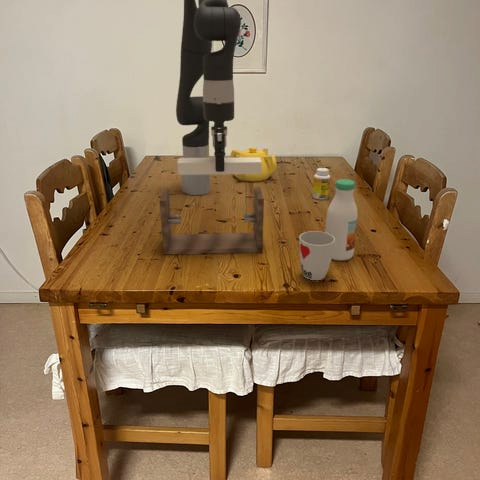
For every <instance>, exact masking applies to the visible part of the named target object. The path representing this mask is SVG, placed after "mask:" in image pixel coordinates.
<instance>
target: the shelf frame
mask: <svg viewBox="0 0 480 480" xmlns="http://www.w3.org/2000/svg"><path fill="white" fill-rule="evenodd" d="M253 190H254V191H253V212H252V213H251V212H250V213H249V212H248V213H243V218H244V223H253V232H223V233H222V232H219V233H218V232H217V233H216V232H215V233H180V234H179V233H178V234H175V233H174V234H172V232H173V231H172V225H180V224H181V220H182V215H181V214H171V205H170V204H171V201H170V200H171V199H170V188H169V187H167V188H165V187H163V188H162V191H161V194H160V198H159V210H160V213H159V214H160V224H161V238H162V251H163V252H162V253H163V255H164V254H189V255H203V254H202V253H219V255H220V253H228V254H255V253H256V254H259V253H258V252H263V251H264V250H263V249H264V212H265V210H264V205H265V198H264V195H263V192H262V189H261V187H260V186H254V189H253ZM263 253H264V252H263Z"/></svg>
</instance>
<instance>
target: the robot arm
mask: <svg viewBox="0 0 480 480" xmlns="http://www.w3.org/2000/svg"><path fill="white" fill-rule="evenodd" d="M197 1H198V6H197V3H196V0H183V20H182V21H183V23H182V30H181V31H182V33H181V42H180V43H181V44H180V69H179V81H178V88H177V89H178V90H177V95H176V96H177V97H176V107H175V114H176V120H177V123H178V124H179V125H181V126H196V125H197V126H196V127H195V129H193V130H192V131H190V132H188V133H186V134H184V135H183V136H182V144H181V145H182V158H210V133H211V136H212V147H213V149H214V152H213V155H214V158H215V166H216V171H217V172H223V171H224V158H226V147H227V136H228V126H226V125H225V122H230V121H233V120H234V119H235V85H234V84H235V83H234V58H235V57H234V55H235V50H236V46H237V42H238V38H239V35H240V32H241V25H242V19H241V15H240V13H239V11H238V10H237V9H236V8H235V7H232V6H229V3H228V0H197ZM213 42H224V45H223V47H222V48H221V49H219V50H216V51H212V48H213ZM202 76H203V78H202ZM201 78H202V79H203V81H202V82H203V83H202V86H203V87H202V96H200V95H199V96H191V95H192V92H193V90H194V89H195V86H196V84H197V83H198V82H199V81H200V80H201ZM210 122H213V123H214V124H213V126H211V127H210ZM181 185H182V186H181V188H182V189H181V190H182V193H185V194H187V195H191V196H203V195H206V194H210V192H211V174H204V175H181Z"/></svg>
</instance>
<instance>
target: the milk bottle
mask: <svg viewBox="0 0 480 480" xmlns="http://www.w3.org/2000/svg"><path fill="white" fill-rule="evenodd" d="M355 187H356V183H355V181H354V180H352V179H346V178H342V179H337V180H336V182H335V193H334V196H333V198H332V200H331V202H330V204H329V206H328V209H327V212H326V218H325V231H324V232H325V233H328V234H330V235H332V236H333V237H334V238H335V242H334V248H333V254H332V259H331V260H334V261H347V260H350V259H352V258H353V256H354V252H355V243H356V237H357V225H358V217H359V216H358V208H357V207H358V206H357V204H356V202H355V199H354V191H355Z"/></svg>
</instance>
